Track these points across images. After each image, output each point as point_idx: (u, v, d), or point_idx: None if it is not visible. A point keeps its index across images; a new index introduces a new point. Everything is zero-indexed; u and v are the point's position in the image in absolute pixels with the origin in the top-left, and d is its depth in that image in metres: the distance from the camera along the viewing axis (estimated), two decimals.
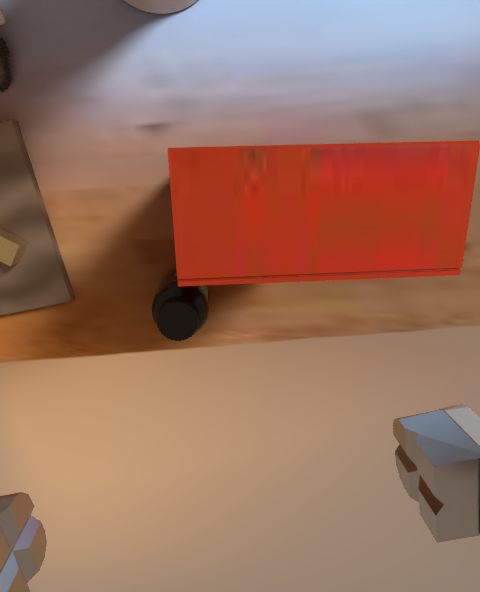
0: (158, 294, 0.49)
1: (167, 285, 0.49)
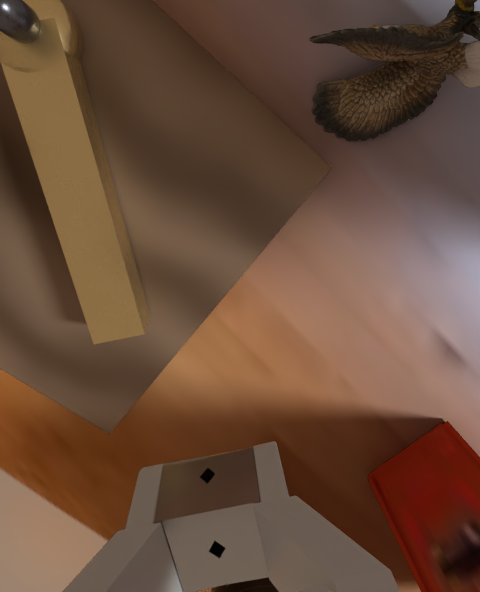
0: None
1: None
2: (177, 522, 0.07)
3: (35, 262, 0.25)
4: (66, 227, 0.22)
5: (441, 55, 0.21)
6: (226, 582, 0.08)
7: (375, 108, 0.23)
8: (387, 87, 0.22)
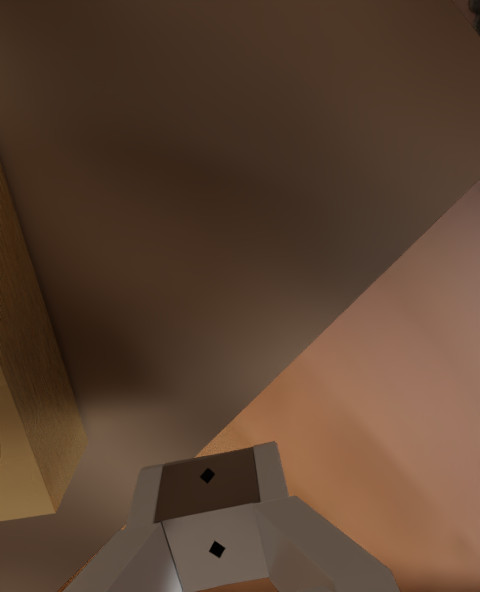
0: None
1: None
2: (177, 522, 0.07)
3: None
4: None
5: None
6: (226, 582, 0.08)
7: None
8: None
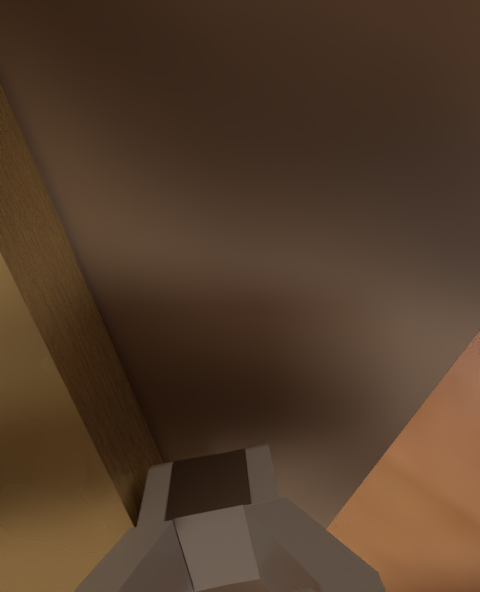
0: None
1: None
2: (188, 520, 0.07)
3: None
4: None
5: None
6: (237, 580, 0.08)
7: None
8: None
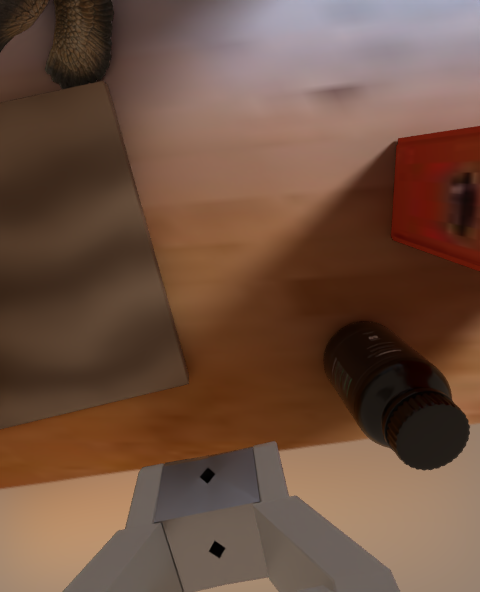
0: (374, 381, 0.27)
1: (386, 364, 0.28)
2: (177, 522, 0.07)
3: (32, 330, 0.31)
4: None
5: None
6: (226, 582, 0.08)
7: (81, 42, 0.26)
8: (70, 22, 0.25)
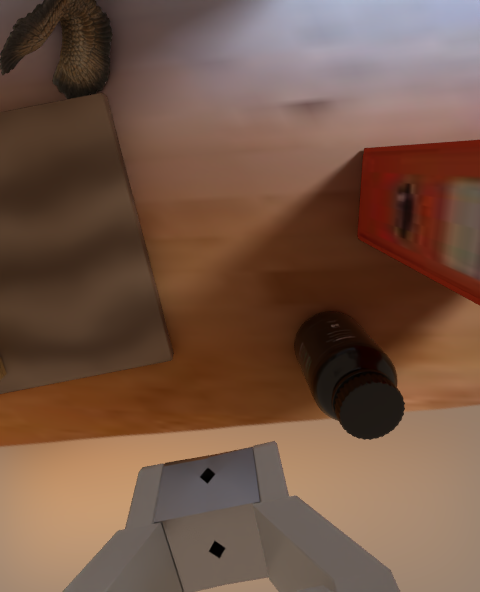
0: (327, 362, 0.32)
1: (339, 348, 0.32)
2: (177, 522, 0.07)
3: (37, 307, 0.36)
4: None
5: None
6: (226, 582, 0.08)
7: (83, 60, 0.30)
8: (74, 43, 0.29)
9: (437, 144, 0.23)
